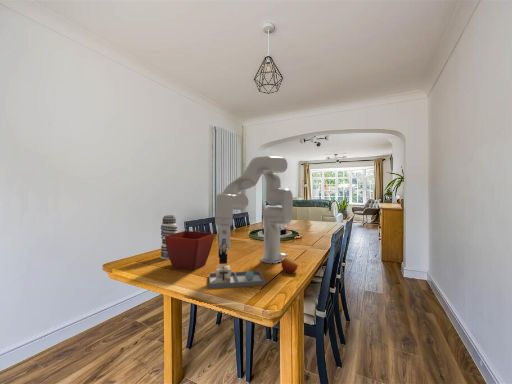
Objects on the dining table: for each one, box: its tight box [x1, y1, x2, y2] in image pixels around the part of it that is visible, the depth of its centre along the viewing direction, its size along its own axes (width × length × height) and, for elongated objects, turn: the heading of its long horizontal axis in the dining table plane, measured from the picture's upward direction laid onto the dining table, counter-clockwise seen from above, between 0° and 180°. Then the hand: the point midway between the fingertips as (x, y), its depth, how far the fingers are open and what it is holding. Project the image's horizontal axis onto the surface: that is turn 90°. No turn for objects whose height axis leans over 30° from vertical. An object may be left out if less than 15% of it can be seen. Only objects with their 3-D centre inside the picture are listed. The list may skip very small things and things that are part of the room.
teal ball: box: [245, 270, 254, 280], centre depth 105 cm, size 4×4×4 cm
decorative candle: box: [160, 214, 178, 260], centre depth 138 cm, size 9×9×25 cm
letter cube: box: [215, 264, 232, 283], centre depth 102 cm, size 6×6×6 cm
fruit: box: [281, 257, 299, 274], centre depth 117 cm, size 8×8×8 cm
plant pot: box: [165, 230, 215, 271], centre depth 123 cm, size 19×19×17 cm
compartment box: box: [208, 270, 267, 289], centre depth 104 cm, size 24×13×2 cm, turn 101°
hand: (222, 260), depth 102 cm, fingers open, 9 cm apart
